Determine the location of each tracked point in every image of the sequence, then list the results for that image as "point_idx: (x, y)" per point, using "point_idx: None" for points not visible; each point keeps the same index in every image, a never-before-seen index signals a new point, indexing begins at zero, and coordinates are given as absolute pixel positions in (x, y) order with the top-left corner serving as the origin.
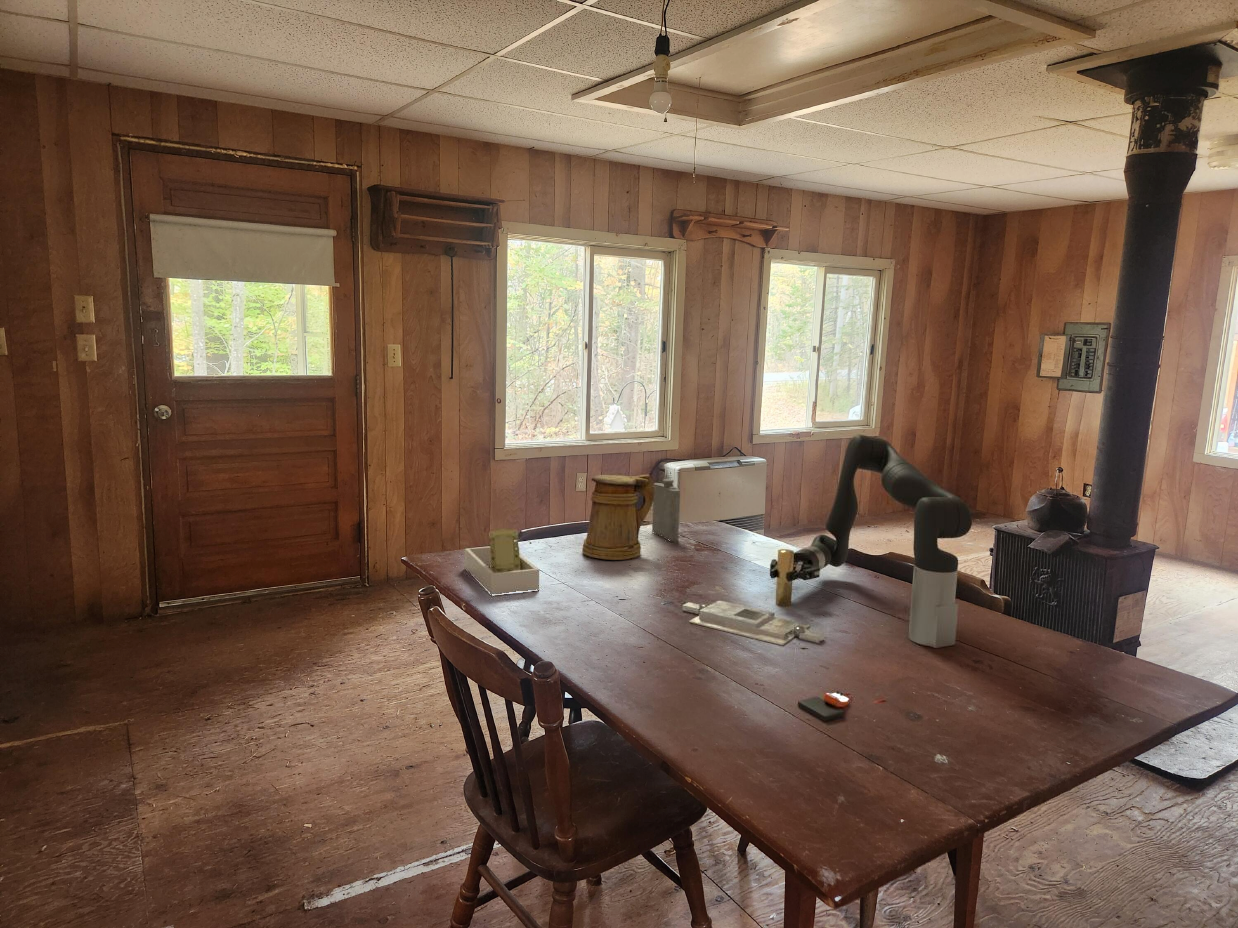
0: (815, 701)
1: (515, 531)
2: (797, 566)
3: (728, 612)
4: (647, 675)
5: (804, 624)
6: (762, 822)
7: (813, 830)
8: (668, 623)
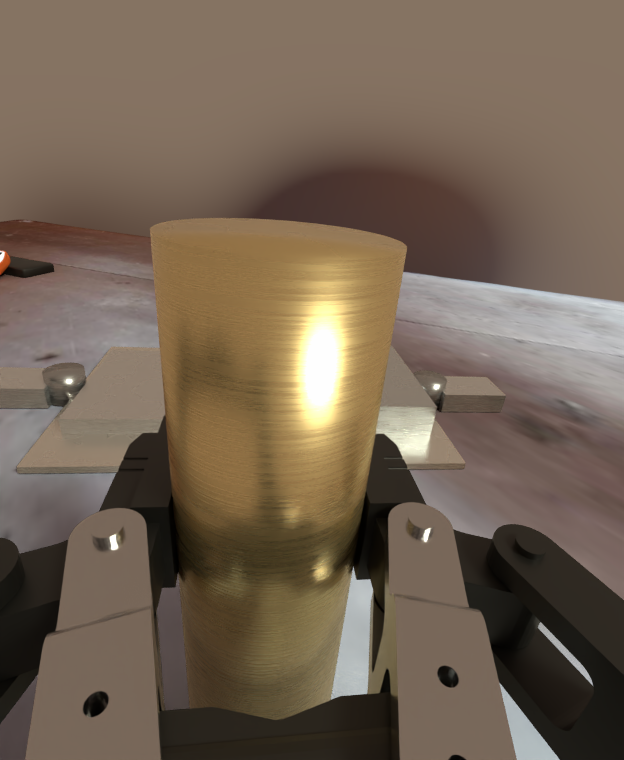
0: (24, 264)
1: None
2: (130, 613)
3: None
4: None
5: (47, 457)
6: (74, 228)
7: (35, 227)
8: (412, 344)
